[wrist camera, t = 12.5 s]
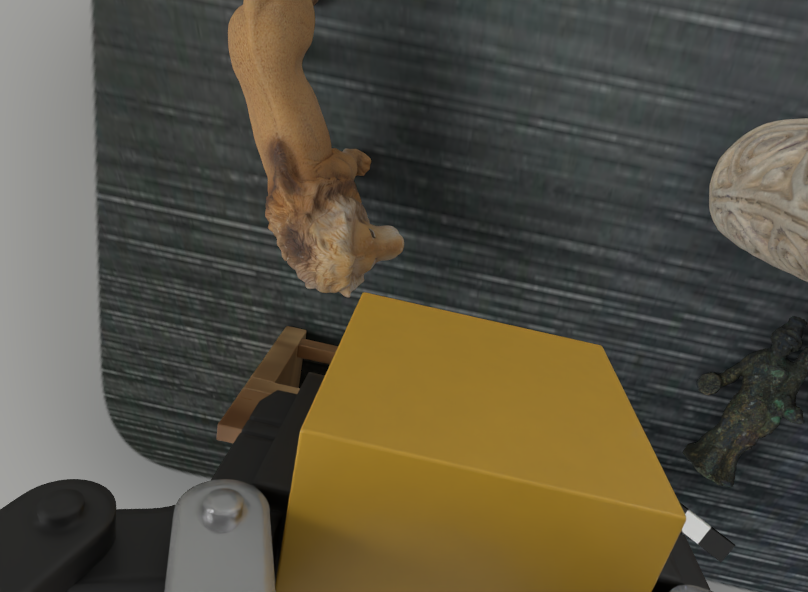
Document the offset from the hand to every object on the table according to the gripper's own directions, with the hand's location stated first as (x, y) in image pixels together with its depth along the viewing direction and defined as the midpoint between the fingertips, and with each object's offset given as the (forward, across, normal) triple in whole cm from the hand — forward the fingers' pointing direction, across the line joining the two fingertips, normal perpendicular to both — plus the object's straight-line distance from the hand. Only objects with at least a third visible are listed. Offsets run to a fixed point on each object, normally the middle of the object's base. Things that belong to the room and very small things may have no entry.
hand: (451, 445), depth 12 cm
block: (+1, 0, 0) cm, 1 cm away
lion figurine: (+20, +7, -4) cm, 21 cm away
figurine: (+20, -15, +7) cm, 26 cm away
